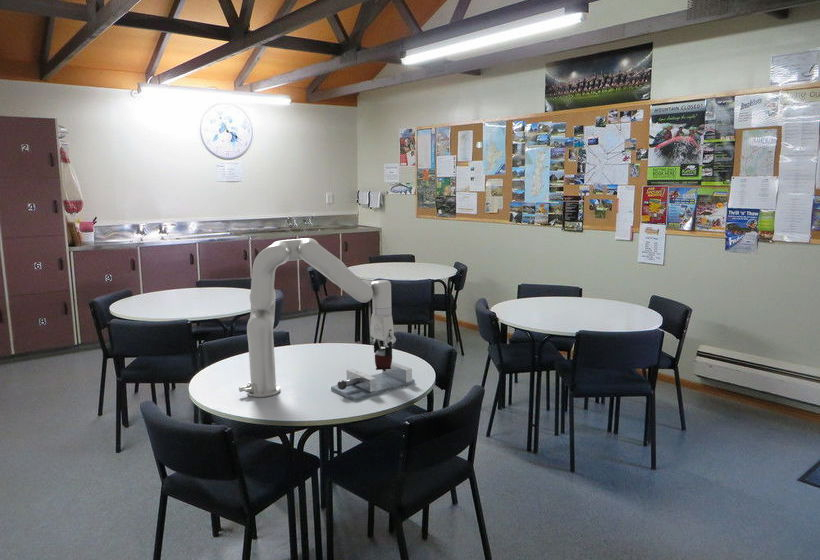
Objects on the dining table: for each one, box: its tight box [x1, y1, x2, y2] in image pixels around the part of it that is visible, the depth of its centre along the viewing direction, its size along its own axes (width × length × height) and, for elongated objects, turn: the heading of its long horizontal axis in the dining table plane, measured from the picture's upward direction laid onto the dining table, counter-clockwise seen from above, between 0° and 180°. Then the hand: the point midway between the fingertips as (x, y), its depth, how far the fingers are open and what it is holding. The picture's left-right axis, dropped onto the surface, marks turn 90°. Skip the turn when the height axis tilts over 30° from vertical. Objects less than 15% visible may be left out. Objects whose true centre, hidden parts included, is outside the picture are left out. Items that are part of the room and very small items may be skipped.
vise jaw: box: [336, 368, 376, 392], centre depth 225 cm, size 12×16×5 cm
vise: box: [330, 361, 416, 402], centre depth 232 cm, size 30×16×6 cm, turn 130°
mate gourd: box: [374, 339, 393, 371], centre depth 234 cm, size 8×8×15 cm
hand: (383, 353), depth 234 cm, fingers closed on mate gourd, 6 cm apart
